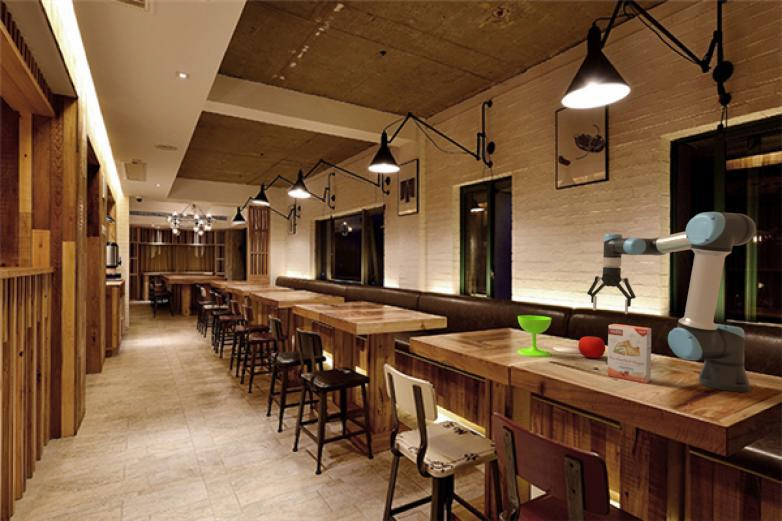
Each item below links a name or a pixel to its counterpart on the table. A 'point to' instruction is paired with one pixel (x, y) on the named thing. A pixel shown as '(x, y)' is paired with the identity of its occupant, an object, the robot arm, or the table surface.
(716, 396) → the table surface
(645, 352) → the cracker box
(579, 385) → the table surface
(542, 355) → the wineglass
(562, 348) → the plate
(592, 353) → the tomato
